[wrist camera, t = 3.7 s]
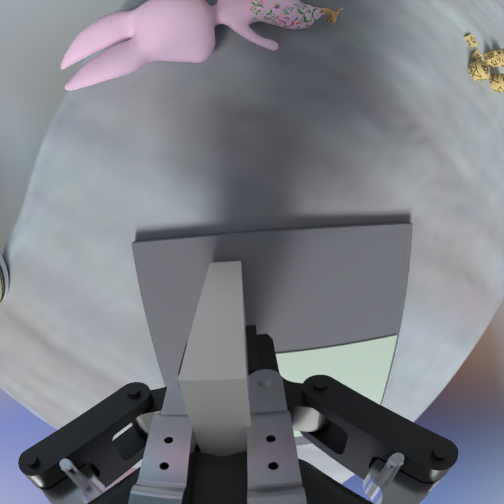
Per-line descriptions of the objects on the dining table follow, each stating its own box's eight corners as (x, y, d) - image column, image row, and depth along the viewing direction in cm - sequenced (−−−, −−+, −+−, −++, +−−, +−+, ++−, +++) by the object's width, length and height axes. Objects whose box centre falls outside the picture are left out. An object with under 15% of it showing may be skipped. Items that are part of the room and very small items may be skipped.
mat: (134, 241, 15) (131, 243, 14) (408, 222, 15) (413, 224, 15) (189, 446, 20) (188, 451, 19) (371, 426, 20) (373, 430, 20)
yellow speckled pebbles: (497, 58, 13) (511, 54, 11) (500, 105, 14) (515, 103, 12) (458, 27, 12) (472, 21, 10) (461, 75, 13) (477, 70, 11)
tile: (210, 262, 15) (178, 380, 6) (241, 260, 15) (246, 378, 6) (223, 370, 17) (218, 498, 8) (249, 368, 17) (259, 497, 8)
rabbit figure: (294, -15, 12) (66, 49, 11) (329, -66, 7) (25, 2, 5) (332, 55, 14) (85, 132, 12) (387, 14, 8) (32, 105, 7)
